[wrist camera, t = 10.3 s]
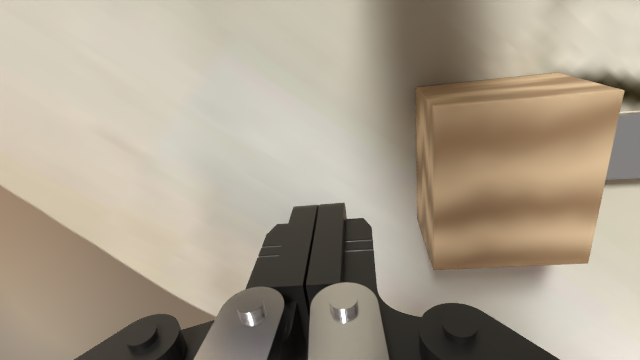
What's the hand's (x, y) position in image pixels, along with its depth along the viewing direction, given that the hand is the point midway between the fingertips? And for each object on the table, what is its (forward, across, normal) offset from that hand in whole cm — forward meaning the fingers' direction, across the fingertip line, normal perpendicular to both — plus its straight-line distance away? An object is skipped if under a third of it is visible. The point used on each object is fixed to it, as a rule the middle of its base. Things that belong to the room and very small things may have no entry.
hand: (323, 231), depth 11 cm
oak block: (+30, -14, +10) cm, 35 cm away
